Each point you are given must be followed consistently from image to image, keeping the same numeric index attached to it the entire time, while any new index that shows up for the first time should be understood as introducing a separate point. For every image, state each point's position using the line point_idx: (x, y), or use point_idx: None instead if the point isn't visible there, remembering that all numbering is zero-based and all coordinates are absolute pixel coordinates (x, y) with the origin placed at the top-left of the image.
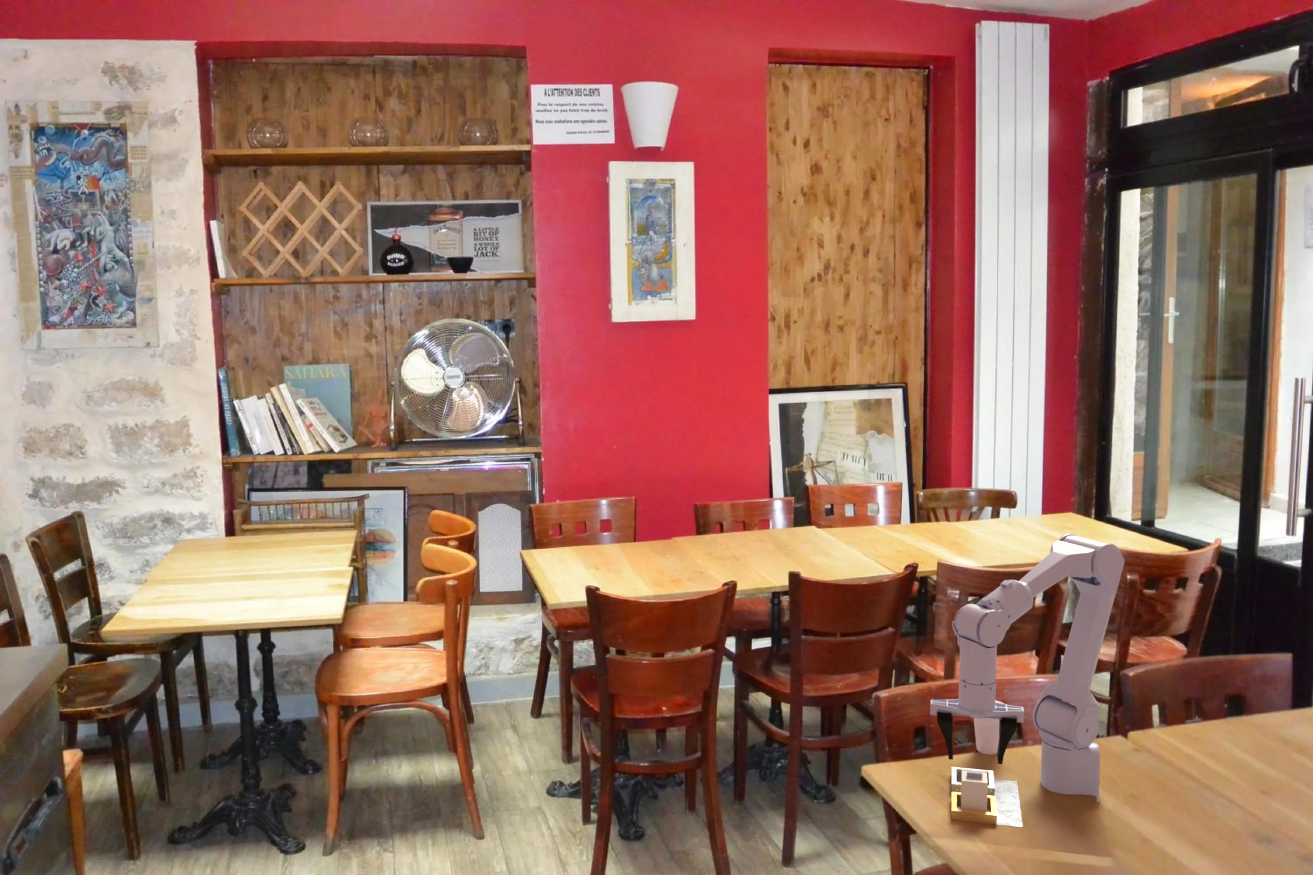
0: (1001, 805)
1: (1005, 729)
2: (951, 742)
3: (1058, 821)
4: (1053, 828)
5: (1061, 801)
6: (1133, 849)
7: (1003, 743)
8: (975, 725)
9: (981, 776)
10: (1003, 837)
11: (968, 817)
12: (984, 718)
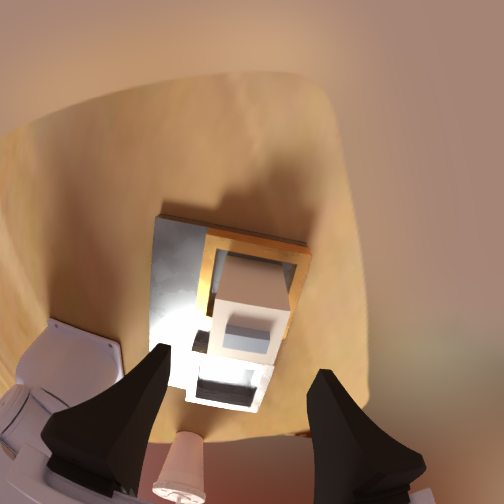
0: (185, 308)
1: (88, 437)
2: (344, 411)
3: (94, 263)
4: (103, 237)
5: (91, 328)
6: (17, 176)
7: (127, 392)
8: (202, 474)
9: (228, 328)
10: (203, 192)
11: (272, 243)
12: (187, 482)
